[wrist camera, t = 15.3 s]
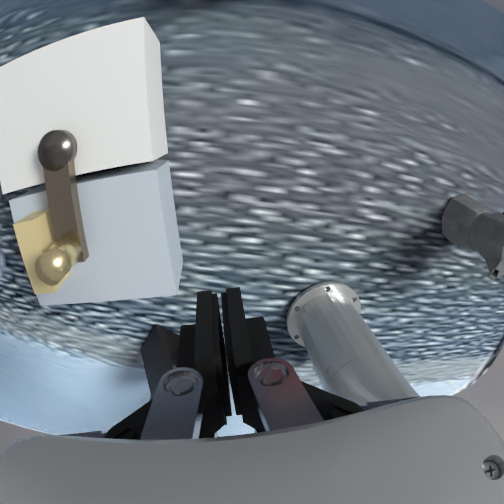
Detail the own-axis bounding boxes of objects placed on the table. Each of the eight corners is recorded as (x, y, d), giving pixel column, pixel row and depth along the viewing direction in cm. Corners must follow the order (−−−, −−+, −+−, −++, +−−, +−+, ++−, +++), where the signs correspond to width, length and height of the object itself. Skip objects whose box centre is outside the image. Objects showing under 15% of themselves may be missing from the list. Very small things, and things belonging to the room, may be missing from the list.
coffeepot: (440, 259, 48) (506, 309, 32) (425, 218, 45) (502, 264, 28) (490, 212, 46) (557, 246, 29) (479, 171, 42) (555, 198, 26)
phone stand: (140, 347, 47) (128, 400, 36) (155, 323, 46) (144, 377, 35) (187, 369, 50) (185, 423, 39) (205, 347, 48) (206, 402, 37)
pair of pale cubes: (183, 261, 42) (173, 317, 30) (65, 274, 41) (25, 325, 28) (159, 42, 30) (136, 4, 18) (32, 78, 29) (-26, 69, 16)
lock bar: (43, 133, 24) (7, 138, 18) (75, 126, 24) (43, 127, 18) (62, 257, 29) (36, 286, 23) (93, 255, 29) (70, 284, 23)
